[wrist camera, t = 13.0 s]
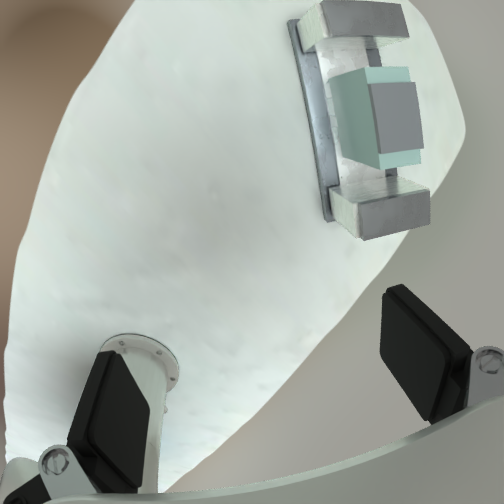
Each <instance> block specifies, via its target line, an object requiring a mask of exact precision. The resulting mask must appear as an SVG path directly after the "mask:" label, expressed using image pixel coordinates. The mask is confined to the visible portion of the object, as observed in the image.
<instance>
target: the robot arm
mask: <svg viewBox="0 0 504 504" xmlns="http://www.w3.org/2000/svg"><path fill="white" fill-rule="evenodd" d="M381 321H382V322H381V339H380V355H381V358H382V360H383V361H384V363H385V364H386V366H387V367H388V369H389V370H390V371H391V373H392V374H393V376H394V377H395V379H396V380H397V382H398V383H399V385H400V386H401V387H402V389H403V390H404V392H405V393H406V395H407V396H408V398H409V399H410V400H411V402H412V404H413V405H414V407H415V408H416V410H417V411H418V413H419V414H420V416H421V417H422V418H423V420H424V421H427V420H428V421H429V422H430V424H431V426H429V427H427V428H425V429H423V430H420V431H418V432H416V433H414V434H411V435H409V436H407V437H405V438H402V439H400V440H398V441H395V442H393V443H390V444H388V445H385V446H383V447H381V448H378V449H376V450H373V451H370V452H367V453H364V454H362V455H359V456H356V457H353V458H350V459H347V460H344V461H341V462H338V463H335V464H331V465H328V466H325V467H322V468H318V469H314V470H311V471H307V472H303V473H299V474H295V475H291V476H286V477H282V478H277V479H273V480H268V481H263V482H257V483H252V484H246V485H240V486H233V487H226V488H219V489H210V490H202V491H189V492H174V493H158V467H159V455H160V444H161V433H162V424H163V414H164V413H166V412H167V408H166V406H165V397H166V393H167V392H169V391H170V390H171V389H172V388H173V387H174V386H175V385H176V383H177V381H178V375H179V368H178V364H177V362H176V359H175V358H174V356H173V355H172V354H171V352H170V351H169V350H168V349H166V348H165V347H164V346H163V345H161V344H160V343H158V342H156V341H154V340H152V339H150V338H147V337H143V336H139V335H128V334H126V335H119V336H116V337H113V338H111V339H109V340H108V341H106V342H105V343H104V344H103V346H102V348H101V350H100V352H99V353H98V354H97V357H96V359H95V362H94V364H93V367H92V369H91V372H90V375H89V377H88V380H87V382H86V385H85V388H84V391H83V393H82V396H81V399H80V402H79V404H78V407H77V410H76V413H75V416H74V419H73V422H72V425H71V428H70V431H69V434H68V437H67V440H68V441H67V445H66V446H65V445H53V446H51V447H49V448H48V449H46V450H45V451H44V452H43V453H42V455H41V456H40V458H39V461H38V462H36V461H34V460H31V459H28V458H24V457H17V458H14V459H12V460H11V461H10V462H9V463H8V464H7V465H6V467H5V469H4V472H3V474H2V477H1V480H0V504H504V351H503V350H501V349H499V348H497V347H493V346H484V347H481V348H479V349H477V350H476V351H475V352H473V351H472V350H471V349H470V346H469V345H468V344H467V343H466V342H465V341H464V340H463V339H462V338H460V336H459V335H458V334H456V333H455V332H454V331H453V330H452V329H451V328H450V327H449V326H448V325H447V324H446V323H445V322H444V321H442V319H441V318H440V317H439V316H438V315H436V314H435V313H434V312H433V311H432V310H431V309H430V308H429V307H428V306H427V305H426V304H424V303H423V302H422V301H421V300H420V299H419V298H418V297H417V296H416V295H414V294H413V293H412V292H411V291H410V290H409V289H408V288H407V287H405V286H404V285H403V284H399V285H396V286H392V287H389V288H387V290H386V293H384V294H383V296H382V319H381Z"/></svg>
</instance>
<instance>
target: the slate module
mask: <svg viewBox="0 0 504 504" xmlns="http://www.w3.org/2000/svg"><path fill="white" fill-rule="evenodd" d="M328 79H329V84H330V89H331V94H332V99H333V104H334V110H335V115H336V121H337V126H338V132H339V138H340V144H341V151H342V157H344V158H347V159H350V160H353V161H356V162H359V163H362V164H365V165H367V166H370V167H373V168H376V169H379V170H384V169H390V168H396V167H402V166H408V165H415V164H421V156H420V149H422V148H424V144H423V135H422V126H421V118H420V110H419V103H418V97H417V91H416V85H415V82H411V81H410V75H409V70H408V67H364V68H360V69H357V70H354V71H350V72H347V73H344V74H341V75H337V76H334V77H331V78H328Z"/></svg>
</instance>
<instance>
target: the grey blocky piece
mask: <svg viewBox="0 0 504 504" xmlns="http://www.w3.org/2000/svg"><path fill="white" fill-rule="evenodd" d="M287 25H288V29H289V33H290V37H291V41H292V45H293V49H294V54H295V58H296V62H297V67H298V71H299V76H300V80H301V85H302V90H303V95H304V99H305V104H306V110H307V115H308V120H309V125H310V131H311V136H312V142H313V148H314V154H315V160H316V166H317V172H318V178H319V185H320V192H321V199H322V206H323V213H324V220H325V221H326V222H332V221H337V222H338V223H339V224H341V225H342V226H343V227H344V228H345V229H346V230H347V231H348V232H349V233H351V234H352V235H353V236H354V237H355V238H360V237H361V239H362V240H364V241H366V240H370V239H374V238H378V237H382V236H386V235H389V234H393V233H397V232H401V231H405V230H409V229H413V228H417V227H420V226H425V225H428V224H430V191H429V188H427V187H424V186H422V185H419V184H417V183H414V182H412V181H409V180H407V179H404V178H402V177H399V176H397V167H396V168H390V169H384V170H379V169H376V168H373V167H370V166H367V165H365V164H362V163H359V162H356V161H353V160H350V159H347V158H344V157H342V151H341V144H340V138H339V132H338V126H337V121H336V115H335V110H334V104H333V99H332V94H331V89H330V84H329V79H328V78H331V77H334V76H337V75H341V74H344V73H347V72H350V71H354V70H357V69H360V68H364V67H382V64H381V60H380V55H379V51H378V48H381V47H384V46H387V45H390V44H393V43H396V42H399V41H402V40H405V39H409V33H408V29H407V25H406V22H405V18H404V14H403V11H402V8H401V4H395V3H385V2H373V1H355V0H323V1H322V2H321V3H315V4H314V5H313V6H312V8H311V9H310V10H309V11H308V12H307V13H306V14H305V15H304V16H303V17H302V18H301V19H294V20H289V21H288V22H287Z"/></svg>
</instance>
